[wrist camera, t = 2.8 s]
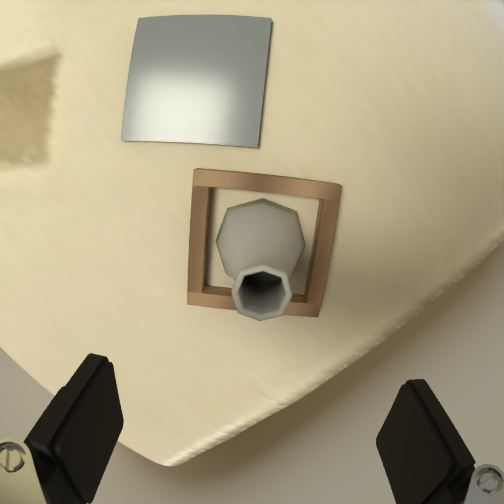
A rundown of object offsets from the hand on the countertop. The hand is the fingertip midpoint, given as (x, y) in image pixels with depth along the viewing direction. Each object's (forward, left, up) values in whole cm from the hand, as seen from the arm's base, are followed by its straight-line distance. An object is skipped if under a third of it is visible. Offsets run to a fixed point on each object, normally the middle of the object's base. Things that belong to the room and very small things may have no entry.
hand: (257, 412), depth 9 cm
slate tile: (+6, -13, -18) cm, 23 cm away
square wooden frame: (0, 0, -18) cm, 18 cm away
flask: (0, 0, -18) cm, 18 cm away
